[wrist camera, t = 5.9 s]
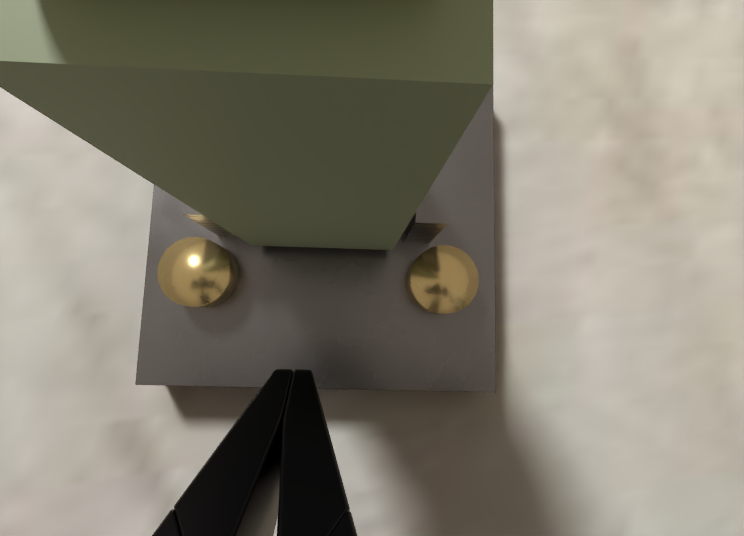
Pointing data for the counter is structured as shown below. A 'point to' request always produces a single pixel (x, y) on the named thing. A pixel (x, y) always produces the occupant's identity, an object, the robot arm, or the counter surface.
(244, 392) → the counter surface
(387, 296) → the base
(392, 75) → the green lever
